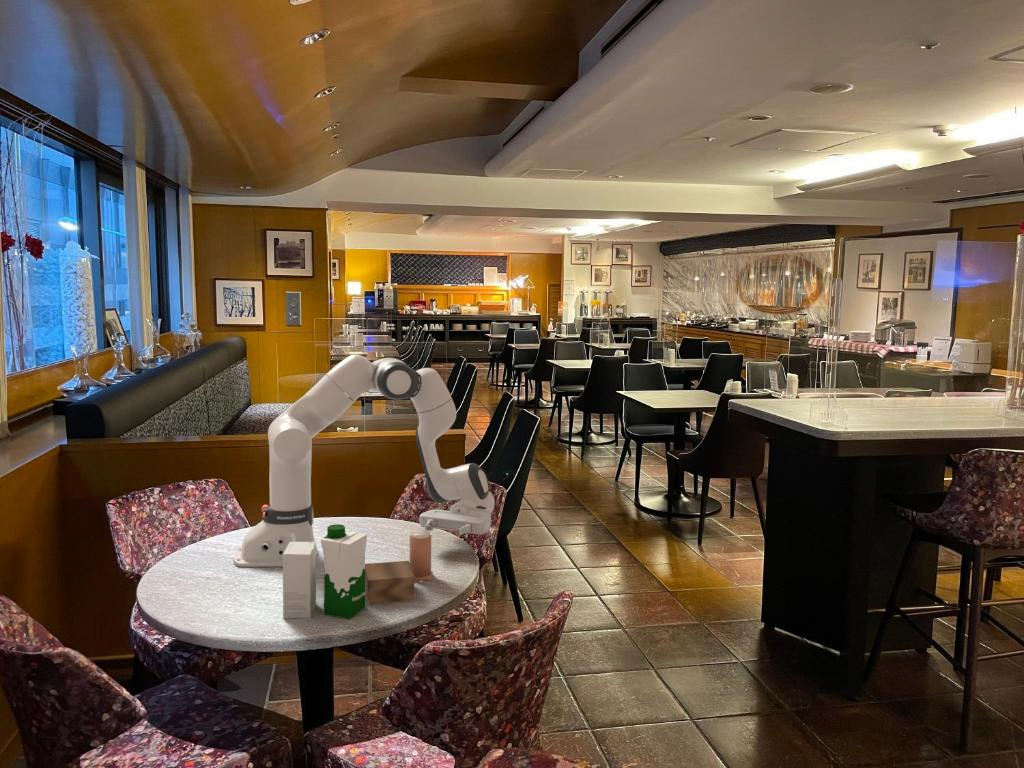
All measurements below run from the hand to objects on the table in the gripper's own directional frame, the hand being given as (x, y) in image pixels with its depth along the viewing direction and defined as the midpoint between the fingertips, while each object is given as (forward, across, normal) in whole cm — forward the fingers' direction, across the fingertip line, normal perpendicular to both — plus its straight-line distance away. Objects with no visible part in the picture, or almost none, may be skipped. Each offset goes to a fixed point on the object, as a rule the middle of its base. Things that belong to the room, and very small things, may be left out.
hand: (442, 530), depth 206 cm
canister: (+12, 0, +9) cm, 15 cm away
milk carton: (+38, -7, +9) cm, 40 cm away
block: (+25, -2, +9) cm, 27 cm away
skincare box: (+42, -16, +9) cm, 46 cm away
